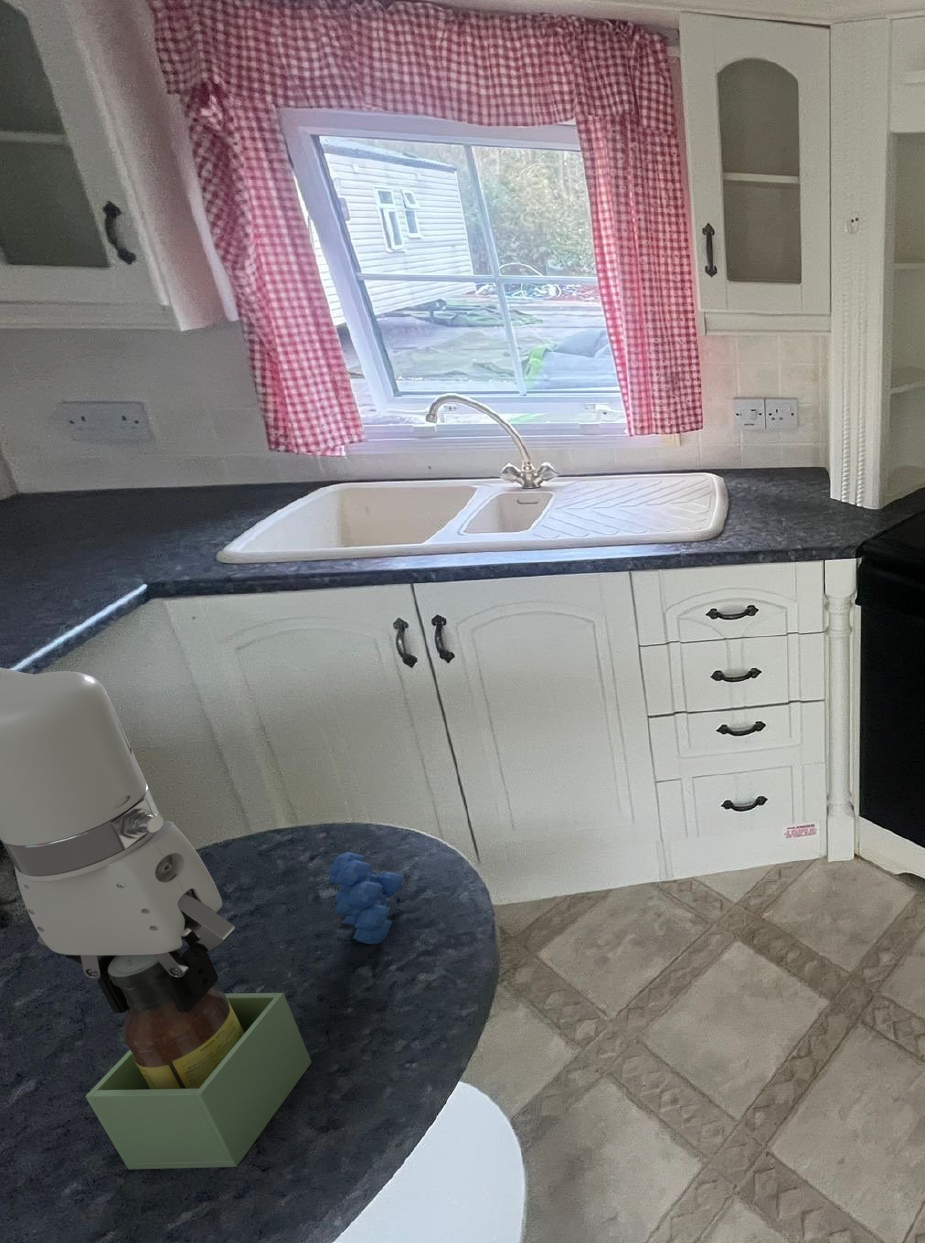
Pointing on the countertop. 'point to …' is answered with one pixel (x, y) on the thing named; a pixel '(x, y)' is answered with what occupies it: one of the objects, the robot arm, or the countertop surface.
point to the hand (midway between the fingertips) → (167, 995)
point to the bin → (207, 1095)
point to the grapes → (363, 896)
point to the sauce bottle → (172, 1026)
